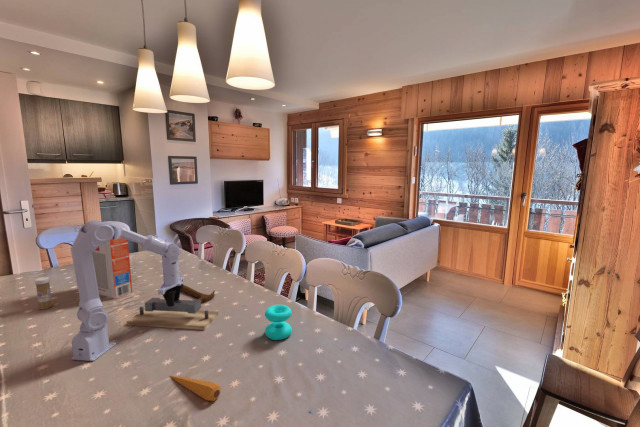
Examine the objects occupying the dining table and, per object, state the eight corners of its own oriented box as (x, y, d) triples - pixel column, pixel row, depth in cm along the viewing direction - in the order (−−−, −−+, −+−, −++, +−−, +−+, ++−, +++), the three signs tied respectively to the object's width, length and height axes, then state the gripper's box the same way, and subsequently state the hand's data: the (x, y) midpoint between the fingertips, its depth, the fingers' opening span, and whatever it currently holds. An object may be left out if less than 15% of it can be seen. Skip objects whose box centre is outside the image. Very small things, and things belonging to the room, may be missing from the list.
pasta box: (132, 292, 146) (127, 233, 142) (115, 299, 139) (109, 237, 134) (104, 284, 156) (98, 229, 151) (87, 290, 148) (80, 232, 144)
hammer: (165, 289, 151) (197, 306, 133) (165, 283, 151) (197, 300, 133) (187, 283, 160) (220, 298, 142) (187, 277, 160) (219, 292, 142)
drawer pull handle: (194, 313, 117) (194, 305, 116) (145, 311, 118) (144, 303, 118) (201, 307, 121) (200, 299, 121) (153, 305, 123) (152, 297, 123)
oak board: (204, 329, 113) (203, 319, 113) (127, 324, 116) (126, 314, 116) (218, 314, 125) (217, 304, 124) (147, 310, 128) (146, 300, 127)
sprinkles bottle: (36, 310, 127) (32, 280, 125) (42, 305, 131) (38, 277, 129) (49, 309, 128) (45, 279, 126) (55, 304, 133) (51, 276, 131)
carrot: (221, 400, 80) (224, 382, 81) (208, 405, 76) (212, 386, 77) (174, 382, 89) (177, 366, 91) (160, 385, 86) (164, 368, 87)
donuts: (289, 301, 116) (293, 313, 106) (289, 325, 117) (294, 339, 108) (263, 304, 113) (265, 317, 103) (264, 328, 114) (266, 343, 105)
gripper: (169, 279, 110) (172, 313, 112) (190, 266, 124) (191, 296, 126) (151, 278, 111) (154, 312, 113) (174, 265, 125) (176, 296, 127)
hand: (173, 304), depth 120 cm, fingers closed on drawer pull handle, 3 cm apart
